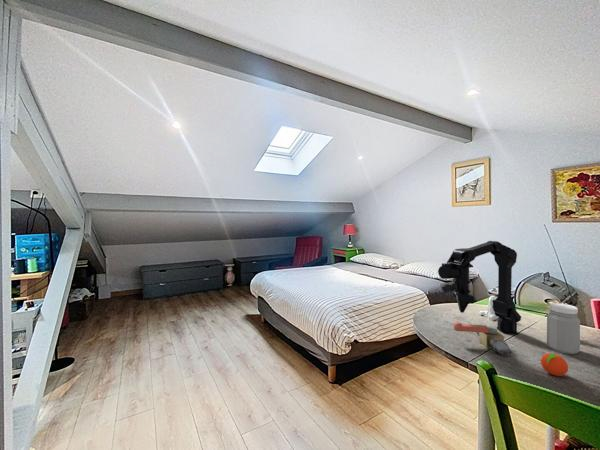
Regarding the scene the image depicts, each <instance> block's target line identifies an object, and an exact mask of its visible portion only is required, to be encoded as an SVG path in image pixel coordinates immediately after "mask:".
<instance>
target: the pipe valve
mask: <svg viewBox="0 0 600 450" xmlns="http://www.w3.org/2000/svg"><path fill="white" fill-rule="evenodd" d="M475 334H476V335H477V336H478V342H479V341H480V342H481V343H482V344H483V345H484V346H485V347H486V348H485V347H484V346H483V345H482V344H481V343H480V342H479V343H480V344H481V345H482V346H483V347H484V348H485V349H487V348H489V350H494V351H495V352H496V353H497V354H500V355H502V356H508V355H509V354H510V353H511V348H510V347H509V345H508V343H507V342H506V341H505V336H504V335H502V334H501V333H500V332H499V331H497V334H490V333H482V332H475Z"/></svg>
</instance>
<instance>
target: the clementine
mask: <svg viewBox="0 0 600 450" xmlns="http://www.w3.org/2000/svg"><path fill="white" fill-rule="evenodd" d="M540 364H541V366H542V368H543V369H544V371H545V372H547V373H548V374H550V375H553V376H557V377H561V376H564V375H566V374H567V373H568V371H569V366H568V363H567V361H566V360H565V359H564V358H563V357H562V356H560V355H559V354H557V353H550V352H549V353H545V354H544V355H542V356H541V358H540Z"/></svg>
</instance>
